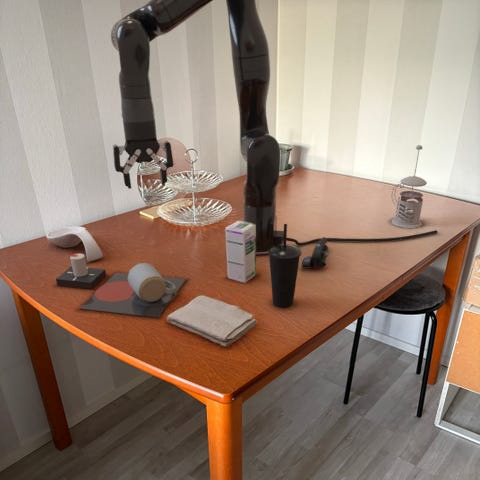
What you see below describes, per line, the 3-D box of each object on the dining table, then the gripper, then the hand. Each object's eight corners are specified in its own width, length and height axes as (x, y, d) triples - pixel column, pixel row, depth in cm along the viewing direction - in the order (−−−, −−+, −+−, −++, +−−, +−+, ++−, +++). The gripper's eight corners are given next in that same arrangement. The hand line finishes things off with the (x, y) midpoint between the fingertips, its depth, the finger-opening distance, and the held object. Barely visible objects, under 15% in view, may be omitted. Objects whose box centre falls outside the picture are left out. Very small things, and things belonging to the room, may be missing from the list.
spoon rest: (42, 243, 153) (36, 221, 149) (77, 233, 160) (72, 212, 156) (78, 266, 138) (73, 243, 134) (114, 254, 145) (111, 231, 141)
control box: (106, 275, 133) (105, 268, 132) (92, 289, 126) (90, 281, 125) (73, 272, 135) (71, 265, 134) (57, 285, 128) (55, 278, 127)
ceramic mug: (140, 307, 117) (137, 278, 113) (129, 293, 123) (125, 265, 119) (181, 297, 122) (179, 268, 118) (168, 284, 128) (166, 256, 124)
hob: (187, 280, 130) (187, 279, 130) (160, 318, 114) (160, 317, 113) (114, 273, 134) (114, 272, 134) (77, 309, 118) (77, 308, 118)
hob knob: (90, 271, 131) (86, 253, 128) (83, 277, 128) (80, 258, 125) (78, 270, 132) (74, 251, 129) (71, 276, 129) (67, 257, 126)
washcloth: (228, 350, 102) (227, 337, 101) (164, 324, 111) (163, 312, 110) (259, 325, 111) (260, 313, 109) (198, 303, 120) (197, 291, 118)
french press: (411, 230, 158) (425, 150, 145) (380, 221, 166) (391, 144, 153) (427, 223, 164) (442, 145, 151) (397, 214, 171) (409, 139, 158)
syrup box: (245, 283, 128) (245, 230, 121) (226, 278, 131) (225, 226, 123) (256, 275, 132) (256, 223, 125) (238, 270, 135) (237, 219, 127)
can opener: (324, 274, 132) (325, 255, 129) (298, 270, 134) (299, 251, 131) (336, 249, 146) (338, 231, 143) (313, 246, 148) (314, 228, 145)
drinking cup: (265, 296, 122) (266, 219, 111) (295, 294, 122) (299, 217, 112) (269, 312, 115) (270, 231, 105) (301, 310, 116) (306, 229, 105)
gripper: (109, 122, 111) (119, 193, 120) (171, 118, 115) (177, 187, 123) (106, 117, 117) (116, 185, 126) (165, 113, 121) (171, 179, 130)
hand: (146, 186), depth 125 cm, fingers open, 8 cm apart
